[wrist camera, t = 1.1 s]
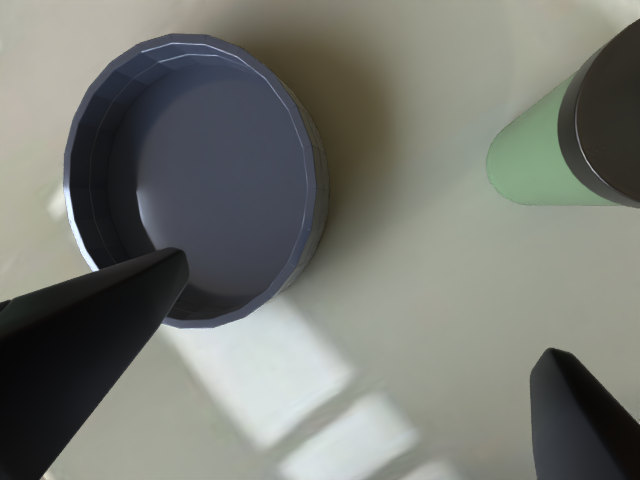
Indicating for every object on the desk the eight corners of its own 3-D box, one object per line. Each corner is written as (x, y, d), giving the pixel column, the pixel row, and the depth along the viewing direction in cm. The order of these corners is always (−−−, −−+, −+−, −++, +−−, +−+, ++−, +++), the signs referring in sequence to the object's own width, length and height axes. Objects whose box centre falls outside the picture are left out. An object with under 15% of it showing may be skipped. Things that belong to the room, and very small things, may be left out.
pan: (343, 307, 23) (332, 325, 19) (126, 315, 27) (87, 331, 24) (313, 29, 21) (295, -5, 18) (90, 88, 26) (42, 70, 23)
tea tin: (590, 201, 18) (838, 197, 8) (487, 211, 20) (580, 219, 9) (585, 104, 18) (839, -37, 7) (480, 122, 19) (569, 23, 9)
